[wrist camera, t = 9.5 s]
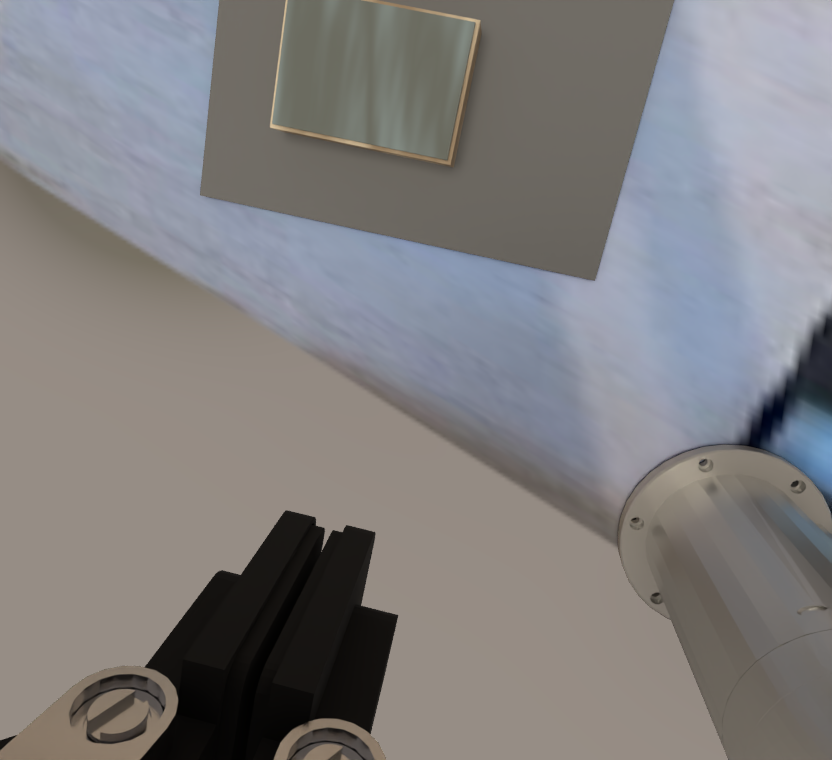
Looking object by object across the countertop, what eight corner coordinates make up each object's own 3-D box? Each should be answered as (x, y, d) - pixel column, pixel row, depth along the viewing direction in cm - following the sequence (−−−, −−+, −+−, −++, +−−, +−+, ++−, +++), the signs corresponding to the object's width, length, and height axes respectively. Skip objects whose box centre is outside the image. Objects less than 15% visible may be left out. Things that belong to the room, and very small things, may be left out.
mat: (679, -26, 33) (682, -30, 33) (593, 279, 38) (594, 280, 37) (234, -108, 35) (230, -113, 34) (204, 195, 39) (200, 195, 39)
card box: (480, 18, 32) (286, -19, 32) (450, 164, 34) (267, 126, 34) (481, 32, 34) (302, -3, 35) (453, 167, 36) (284, 132, 37)
